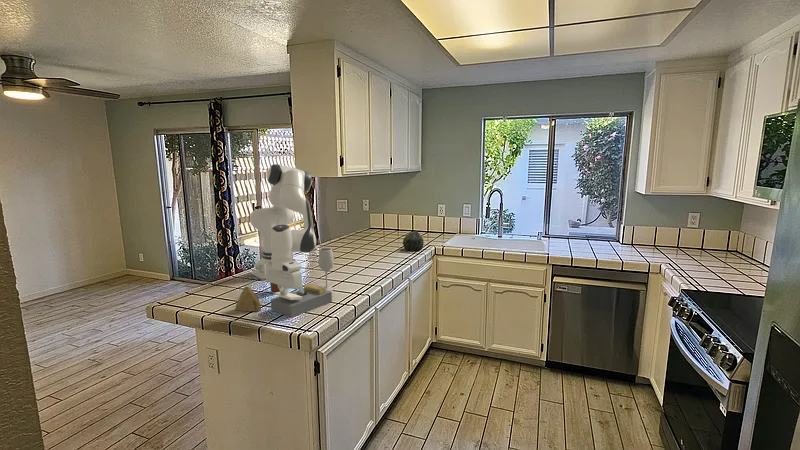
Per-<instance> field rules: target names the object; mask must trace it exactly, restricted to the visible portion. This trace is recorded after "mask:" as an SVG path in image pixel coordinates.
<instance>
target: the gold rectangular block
mask: <svg viewBox="0 0 800 450" xmlns="http://www.w3.org/2000/svg"><path fill="white" fill-rule="evenodd" d="M324 287H325V286H324ZM324 287H323V286H322V285H321V286H320V285H316V284H312V283H307V284H303V288H304V290H307V291H311V292H314V293H318V294H322V293H325V292H326V288H324Z"/></svg>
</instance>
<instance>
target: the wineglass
mask: <svg viewBox="0 0 800 450" xmlns="http://www.w3.org/2000/svg"><path fill="white" fill-rule="evenodd" d="M317 261H318V267H319V269H321V270H322V271H323V272H324V273H325V286H324V288H326V290H327V291H331V292H333V291H334V290H335V288H334V287H331V286H328V272H330V270H331V269H333V267H334V263H335V262H334V261H335V260H334V254H333V249H332V248H330V247H325V248H320V249H319V252H318V260H317Z"/></svg>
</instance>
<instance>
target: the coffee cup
mask: <svg viewBox="0 0 800 450" xmlns="http://www.w3.org/2000/svg"><path fill="white" fill-rule="evenodd" d="M269 286H270V292H271V294H274V295H275V292H280V290H279V288H278V285H277V284H274V283H271V282H269Z"/></svg>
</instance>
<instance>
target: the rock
mask: <svg viewBox="0 0 800 450" xmlns="http://www.w3.org/2000/svg"><path fill="white" fill-rule="evenodd" d="M261 307H262V306H261V303H260V300H259V298H258V296H257V295H256V293H255V292H254V291H253V289H252V288H251V287H249V286H245V287H244V289H243V290H242V291H241V293H240V295H239V298H238V299H237V301H236V305H235V308H234V310H235V311H238V312H239V311H240V312H259V311H261V310H262V308H261Z"/></svg>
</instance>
